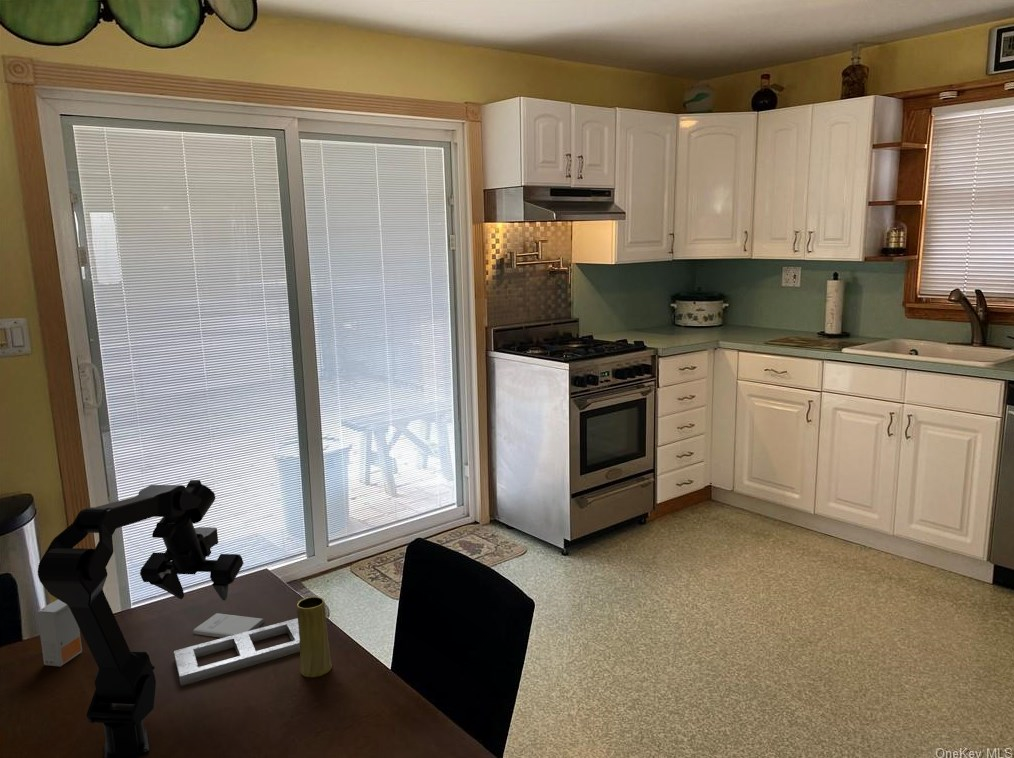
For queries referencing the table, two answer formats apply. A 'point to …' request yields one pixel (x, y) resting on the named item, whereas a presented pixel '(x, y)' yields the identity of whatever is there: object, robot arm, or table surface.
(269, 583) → the table surface
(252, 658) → the grey flat frame
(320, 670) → the vase
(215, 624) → the external hard drive
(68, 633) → the skincare box
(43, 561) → the robot arm
